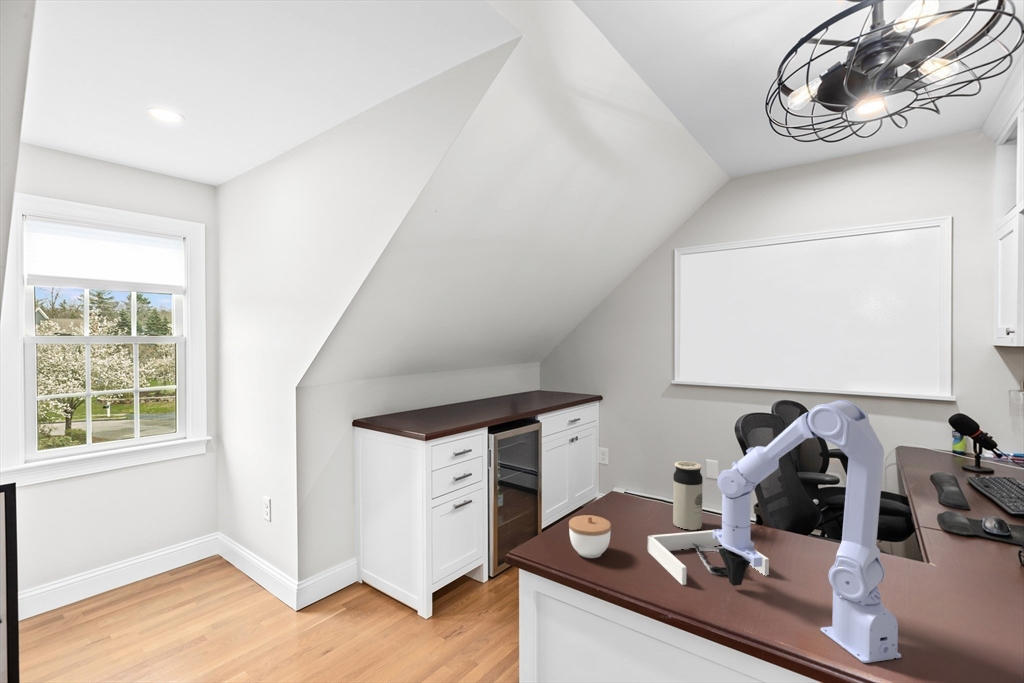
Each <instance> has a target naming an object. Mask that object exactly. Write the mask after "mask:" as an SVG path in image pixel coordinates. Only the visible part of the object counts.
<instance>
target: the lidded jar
mask: <svg viewBox="0 0 1024 683" xmlns="http://www.w3.org/2000/svg"><path fill="white" fill-rule="evenodd" d="M568 528H569V529H568V530H569V532H568V533H569V538H570V540H569V541H570V543H571V545H572V547H573V549H574V550H575V551H576V552H577V554H578V555H579V556H581V557H583V558H586V559H596V558H597V559H598V558H600V557H601V556H602V554H603V553H604V552H605V551H606V550H607V548H608V547H609V544H610V541H611V540H610V539H611V529H612V524H611V522H610V521H609V520H608V519H606V518H604V517H601V516H598V515H591V514H590V515H588V514H587V515H586V514H584V515H583V514H582V515H577V516H574V517H572V518H570V519H569V521H568Z"/></svg>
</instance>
